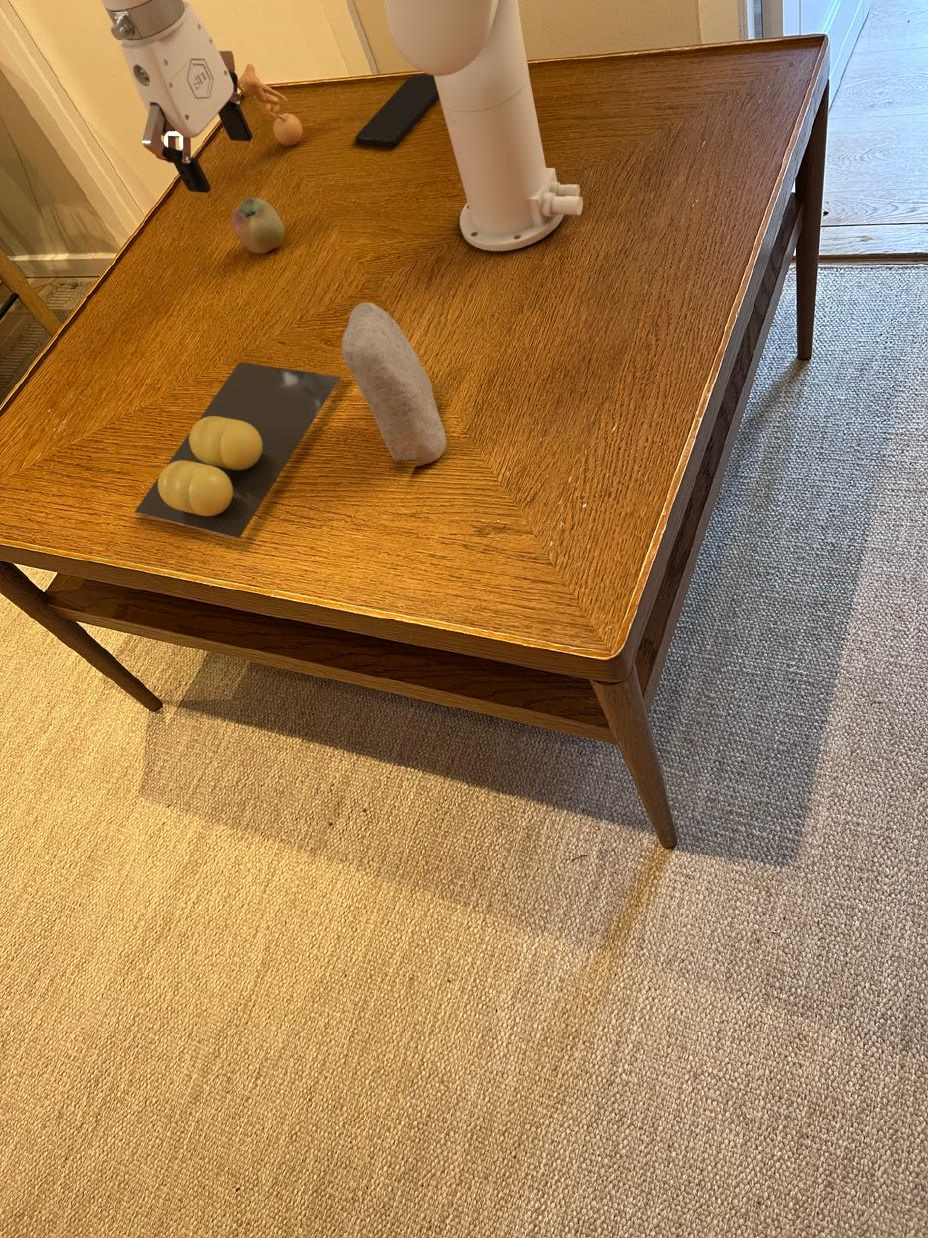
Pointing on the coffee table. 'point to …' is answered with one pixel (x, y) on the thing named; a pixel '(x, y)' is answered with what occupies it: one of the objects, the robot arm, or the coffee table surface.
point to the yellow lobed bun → (225, 443)
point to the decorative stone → (393, 385)
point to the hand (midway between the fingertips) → (221, 164)
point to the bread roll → (195, 488)
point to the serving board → (281, 418)
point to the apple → (257, 225)
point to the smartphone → (400, 112)
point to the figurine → (285, 124)
